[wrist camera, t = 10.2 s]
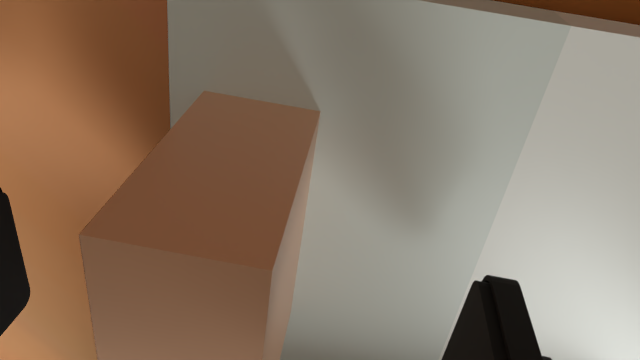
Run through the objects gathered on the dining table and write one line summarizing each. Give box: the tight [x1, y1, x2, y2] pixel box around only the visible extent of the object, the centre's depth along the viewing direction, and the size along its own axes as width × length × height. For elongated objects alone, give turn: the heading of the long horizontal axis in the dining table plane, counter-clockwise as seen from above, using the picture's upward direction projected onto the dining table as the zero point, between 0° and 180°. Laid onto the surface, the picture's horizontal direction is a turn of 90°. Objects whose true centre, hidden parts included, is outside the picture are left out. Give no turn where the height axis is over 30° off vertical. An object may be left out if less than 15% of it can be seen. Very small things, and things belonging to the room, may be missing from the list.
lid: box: [79, 0, 640, 360], centre depth 11 cm, size 15×11×7 cm
